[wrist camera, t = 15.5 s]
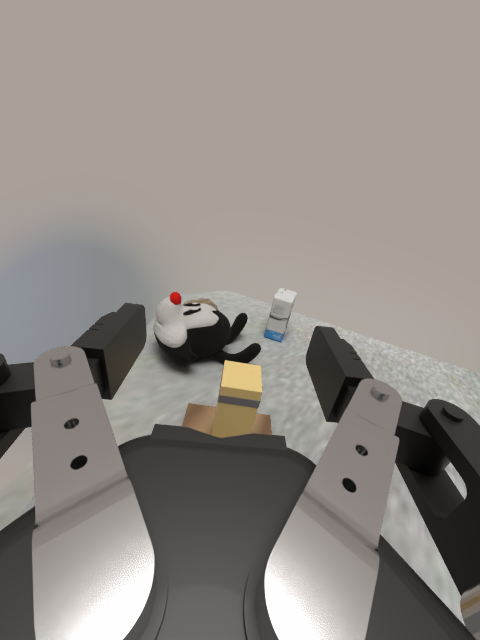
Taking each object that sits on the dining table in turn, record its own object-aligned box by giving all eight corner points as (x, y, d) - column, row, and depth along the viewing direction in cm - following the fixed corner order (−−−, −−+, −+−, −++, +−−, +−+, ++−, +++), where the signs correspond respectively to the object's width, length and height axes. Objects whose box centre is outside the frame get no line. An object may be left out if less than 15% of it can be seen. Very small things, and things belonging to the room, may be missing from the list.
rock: (220, 304, 73) (220, 291, 66) (215, 331, 70) (214, 320, 62) (187, 298, 73) (183, 284, 66) (180, 324, 70) (174, 313, 63)
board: (268, 419, 43) (270, 415, 42) (274, 495, 32) (276, 491, 32) (188, 407, 42) (188, 403, 42) (167, 481, 32) (168, 476, 31)
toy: (148, 282, 54) (241, 266, 56) (168, 344, 63) (247, 329, 65) (135, 320, 40) (259, 297, 42) (163, 393, 49) (264, 372, 51)
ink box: (280, 342, 65) (292, 302, 60) (263, 336, 66) (273, 297, 61) (286, 328, 73) (298, 292, 67) (270, 323, 74) (280, 287, 68)
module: (243, 429, 39) (261, 365, 33) (243, 459, 35) (262, 392, 29) (213, 425, 39) (224, 359, 33) (208, 455, 35) (220, 386, 28)
